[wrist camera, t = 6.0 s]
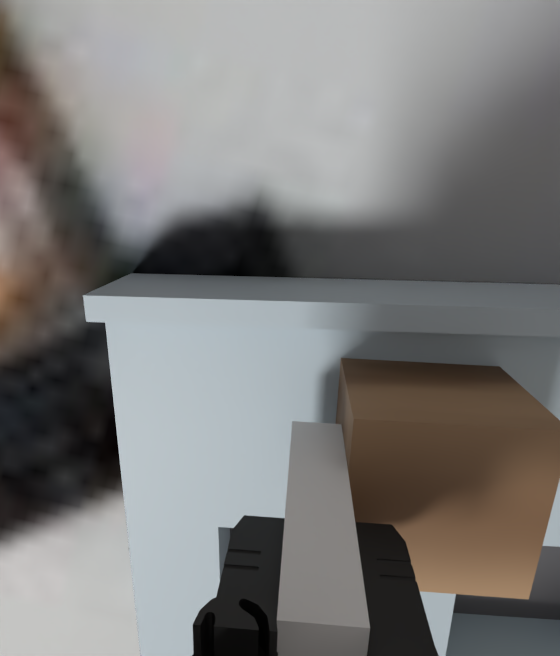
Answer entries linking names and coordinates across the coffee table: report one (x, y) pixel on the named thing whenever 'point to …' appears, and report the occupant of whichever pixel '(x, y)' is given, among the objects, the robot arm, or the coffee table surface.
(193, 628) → the robot arm
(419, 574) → the brown block
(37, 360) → the coffee table surface
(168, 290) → the board
